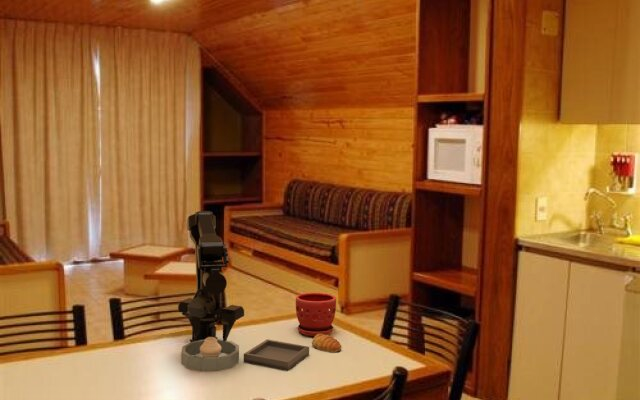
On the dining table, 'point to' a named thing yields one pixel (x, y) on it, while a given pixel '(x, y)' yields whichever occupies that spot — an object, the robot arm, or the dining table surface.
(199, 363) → the grey polygonal ring
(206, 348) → the muffin
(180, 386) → the dining table surface
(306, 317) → the plant pot
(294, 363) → the tray
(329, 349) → the pastry
